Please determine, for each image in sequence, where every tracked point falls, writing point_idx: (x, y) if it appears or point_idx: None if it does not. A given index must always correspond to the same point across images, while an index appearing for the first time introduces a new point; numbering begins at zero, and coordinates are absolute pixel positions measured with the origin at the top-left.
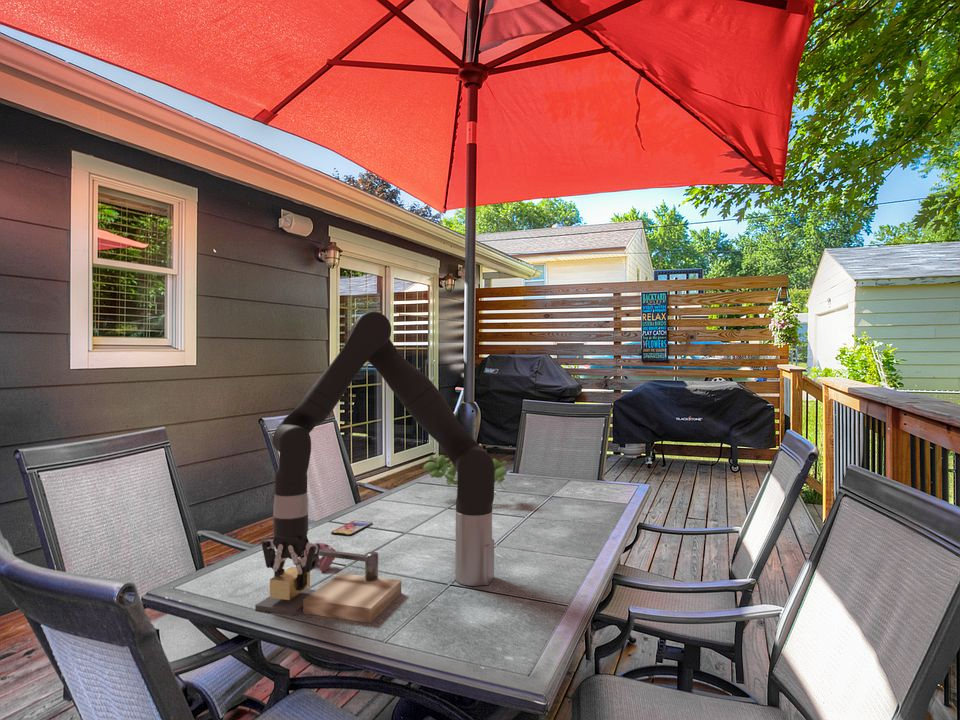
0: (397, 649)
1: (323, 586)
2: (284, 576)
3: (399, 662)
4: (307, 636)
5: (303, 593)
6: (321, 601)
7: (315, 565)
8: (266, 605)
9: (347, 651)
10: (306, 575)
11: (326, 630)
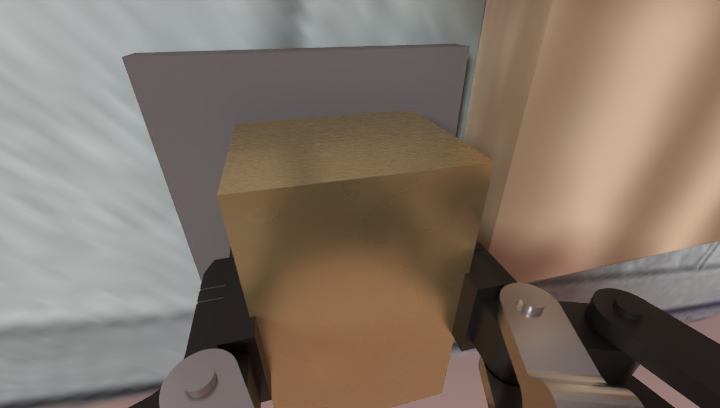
0: (717, 278)
1: (532, 122)
2: (351, 372)
3: (708, 308)
4: None
5: None
6: (561, 273)
7: (663, 314)
8: None
9: None
10: (505, 278)
11: (556, 293)
